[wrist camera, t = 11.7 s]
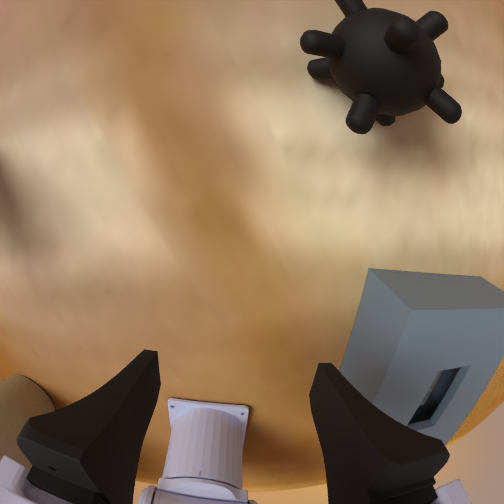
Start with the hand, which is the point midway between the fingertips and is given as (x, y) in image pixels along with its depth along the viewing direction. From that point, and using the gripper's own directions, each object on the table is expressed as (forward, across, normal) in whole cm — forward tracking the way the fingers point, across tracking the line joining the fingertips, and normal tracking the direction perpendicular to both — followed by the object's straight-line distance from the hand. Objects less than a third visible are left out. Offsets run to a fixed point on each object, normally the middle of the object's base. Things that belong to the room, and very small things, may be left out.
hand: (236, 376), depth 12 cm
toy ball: (+11, -7, -17) cm, 21 cm away
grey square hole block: (+10, -17, +7) cm, 21 cm away
